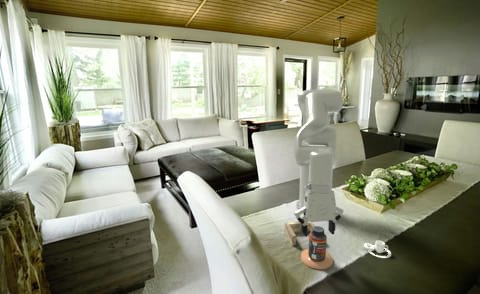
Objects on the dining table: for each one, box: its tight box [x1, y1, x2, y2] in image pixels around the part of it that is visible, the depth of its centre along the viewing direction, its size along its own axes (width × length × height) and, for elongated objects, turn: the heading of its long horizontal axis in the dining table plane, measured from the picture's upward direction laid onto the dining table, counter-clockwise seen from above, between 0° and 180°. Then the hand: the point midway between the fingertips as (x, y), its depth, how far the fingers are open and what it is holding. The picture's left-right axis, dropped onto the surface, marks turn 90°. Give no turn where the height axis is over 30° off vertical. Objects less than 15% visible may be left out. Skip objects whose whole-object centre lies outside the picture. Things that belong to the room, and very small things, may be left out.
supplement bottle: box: [308, 225, 328, 262], centre depth 92 cm, size 6×6×11 cm
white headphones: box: [363, 239, 392, 259], centre depth 97 cm, size 9×8×4 cm
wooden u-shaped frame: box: [284, 221, 316, 246], centre depth 107 cm, size 12×10×4 cm
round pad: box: [300, 248, 334, 271], centre depth 93 cm, size 11×11×1 cm
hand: (318, 233), depth 90 cm, fingers open, 9 cm apart
